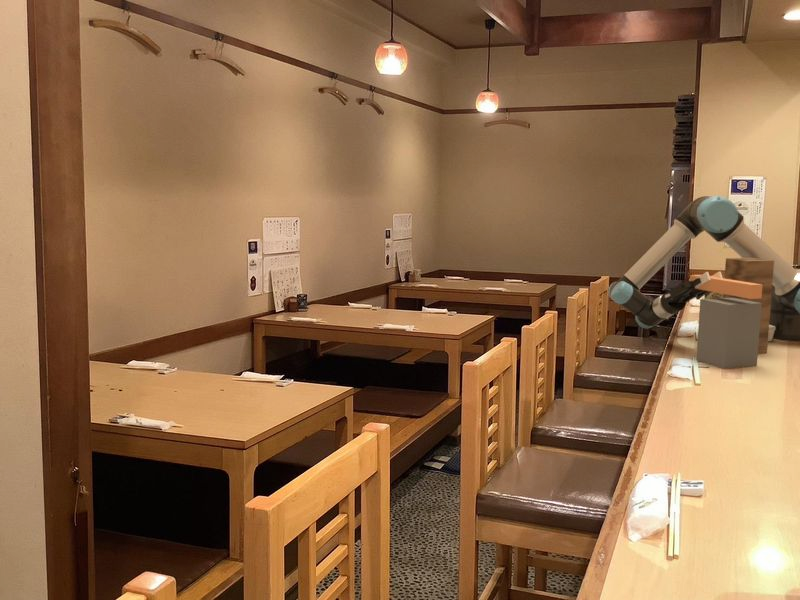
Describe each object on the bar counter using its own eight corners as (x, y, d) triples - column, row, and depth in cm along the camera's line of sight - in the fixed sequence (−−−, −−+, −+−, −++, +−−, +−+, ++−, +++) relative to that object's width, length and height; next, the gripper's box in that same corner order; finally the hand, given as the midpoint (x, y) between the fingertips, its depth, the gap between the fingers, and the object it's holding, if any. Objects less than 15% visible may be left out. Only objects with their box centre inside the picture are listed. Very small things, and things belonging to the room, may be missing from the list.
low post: (756, 366, 230) (761, 303, 227) (724, 368, 226) (728, 304, 223) (727, 357, 241) (732, 297, 239) (696, 360, 237) (700, 299, 235)
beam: (761, 298, 222) (762, 284, 221) (750, 298, 221) (751, 284, 220) (699, 287, 246) (700, 274, 246) (689, 287, 245) (690, 274, 245)
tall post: (766, 353, 249) (774, 260, 244) (741, 355, 245) (748, 261, 241) (743, 347, 258) (750, 257, 254) (719, 348, 255) (725, 258, 250)
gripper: (693, 313, 259) (740, 286, 238) (650, 315, 254) (695, 287, 233) (687, 292, 262) (733, 264, 241) (645, 294, 256) (688, 265, 235)
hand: (714, 275), depth 237 cm, fingers closed on beam, 4 cm apart
